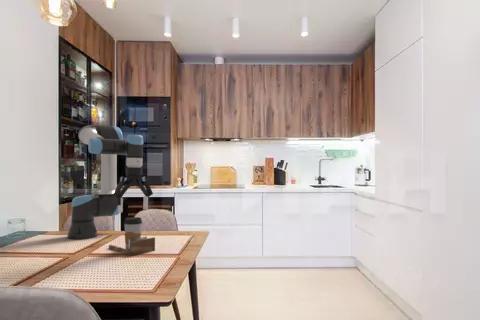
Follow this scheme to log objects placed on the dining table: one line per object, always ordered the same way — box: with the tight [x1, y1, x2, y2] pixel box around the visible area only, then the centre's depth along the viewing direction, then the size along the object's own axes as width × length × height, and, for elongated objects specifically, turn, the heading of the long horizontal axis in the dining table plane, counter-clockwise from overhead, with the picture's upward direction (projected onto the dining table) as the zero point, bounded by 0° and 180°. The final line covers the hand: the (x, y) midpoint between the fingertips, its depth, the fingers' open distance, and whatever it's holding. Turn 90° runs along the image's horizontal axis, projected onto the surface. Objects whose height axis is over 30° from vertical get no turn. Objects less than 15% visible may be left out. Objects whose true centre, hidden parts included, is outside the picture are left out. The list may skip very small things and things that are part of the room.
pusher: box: [128, 235, 148, 250], centre depth 151 cm, size 4×9×6 cm, turn 141°
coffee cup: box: [123, 216, 143, 250], centre depth 154 cm, size 8×8×15 cm
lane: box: [108, 237, 156, 256], centre depth 155 cm, size 20×12×6 cm, turn 51°
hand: (133, 210), depth 155 cm, fingers open, 13 cm apart
